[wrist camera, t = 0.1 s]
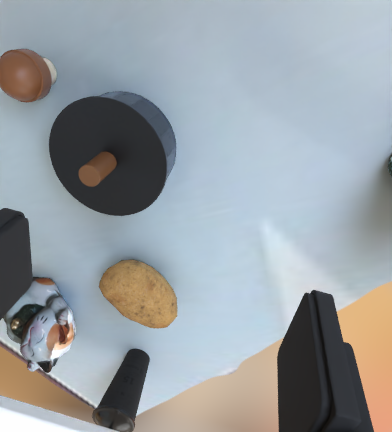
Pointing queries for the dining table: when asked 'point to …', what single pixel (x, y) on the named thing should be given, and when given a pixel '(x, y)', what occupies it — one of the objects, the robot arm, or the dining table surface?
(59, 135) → the pan lid
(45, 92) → the mushroom
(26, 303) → the lucky cat figurine
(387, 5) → the dining table surface
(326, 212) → the dining table surface
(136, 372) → the drinking cup
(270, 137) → the dining table surface
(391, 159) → the coffee jar
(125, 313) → the potato
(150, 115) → the pan
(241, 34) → the dining table surface
